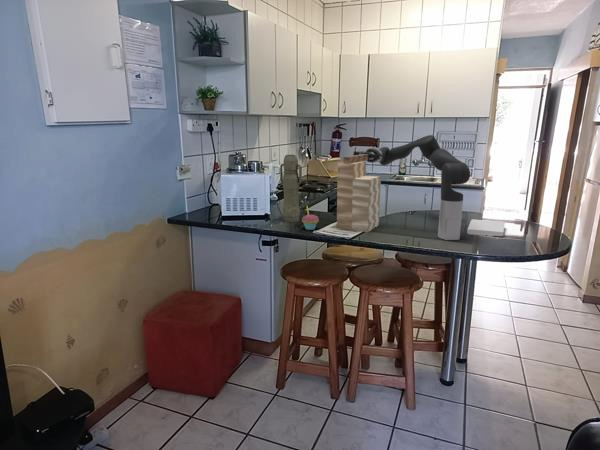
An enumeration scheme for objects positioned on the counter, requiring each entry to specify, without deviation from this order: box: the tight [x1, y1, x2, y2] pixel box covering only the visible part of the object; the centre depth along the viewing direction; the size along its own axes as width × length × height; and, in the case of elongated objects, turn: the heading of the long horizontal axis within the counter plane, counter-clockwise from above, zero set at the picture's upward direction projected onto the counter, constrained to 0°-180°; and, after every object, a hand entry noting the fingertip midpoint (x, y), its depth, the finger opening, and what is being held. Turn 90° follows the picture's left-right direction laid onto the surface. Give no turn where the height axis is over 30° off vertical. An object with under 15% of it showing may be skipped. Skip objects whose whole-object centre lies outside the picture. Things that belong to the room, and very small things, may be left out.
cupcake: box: [301, 205, 320, 231], centre depth 197 cm, size 9×8×12 cm
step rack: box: [336, 161, 382, 233], centre depth 197 cm, size 16×16×32 cm
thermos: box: [279, 154, 303, 223], centre depth 213 cm, size 9×12×35 cm
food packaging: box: [466, 218, 506, 237], centre depth 191 cm, size 15×3×20 cm
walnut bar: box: [342, 154, 368, 164], centre depth 199 cm, size 24×3×3 cm, turn 149°
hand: (361, 154), depth 209 cm, fingers open, 8 cm apart
